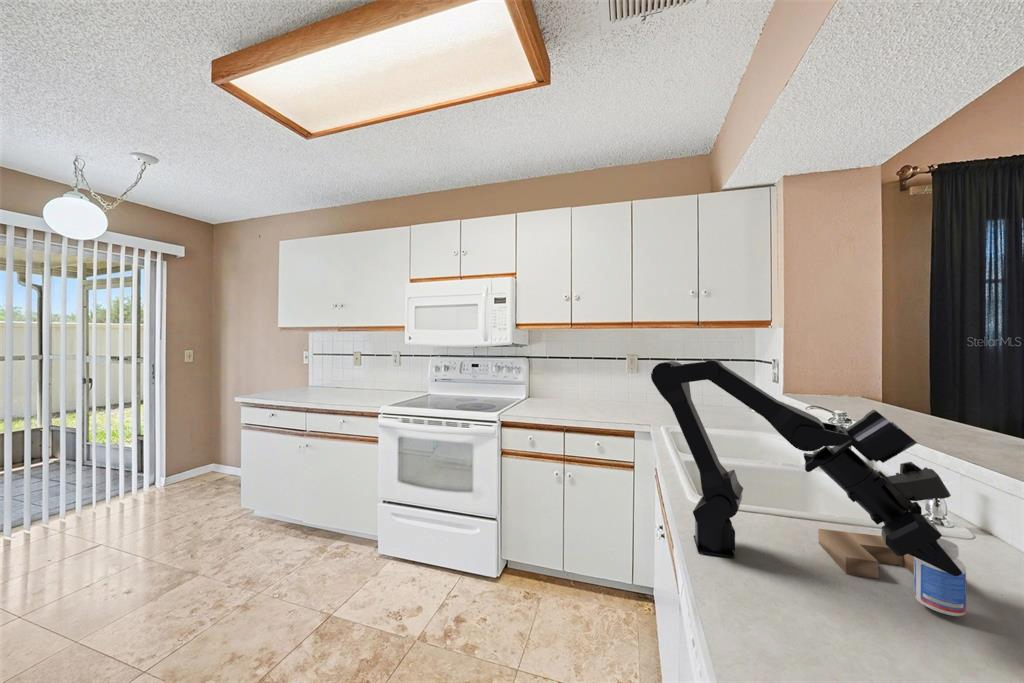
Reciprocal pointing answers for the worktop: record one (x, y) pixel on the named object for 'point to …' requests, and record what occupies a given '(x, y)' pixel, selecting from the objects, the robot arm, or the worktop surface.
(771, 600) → the worktop surface
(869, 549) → the notched board
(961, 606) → the pill bottle
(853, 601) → the worktop surface
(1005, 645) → the worktop surface
